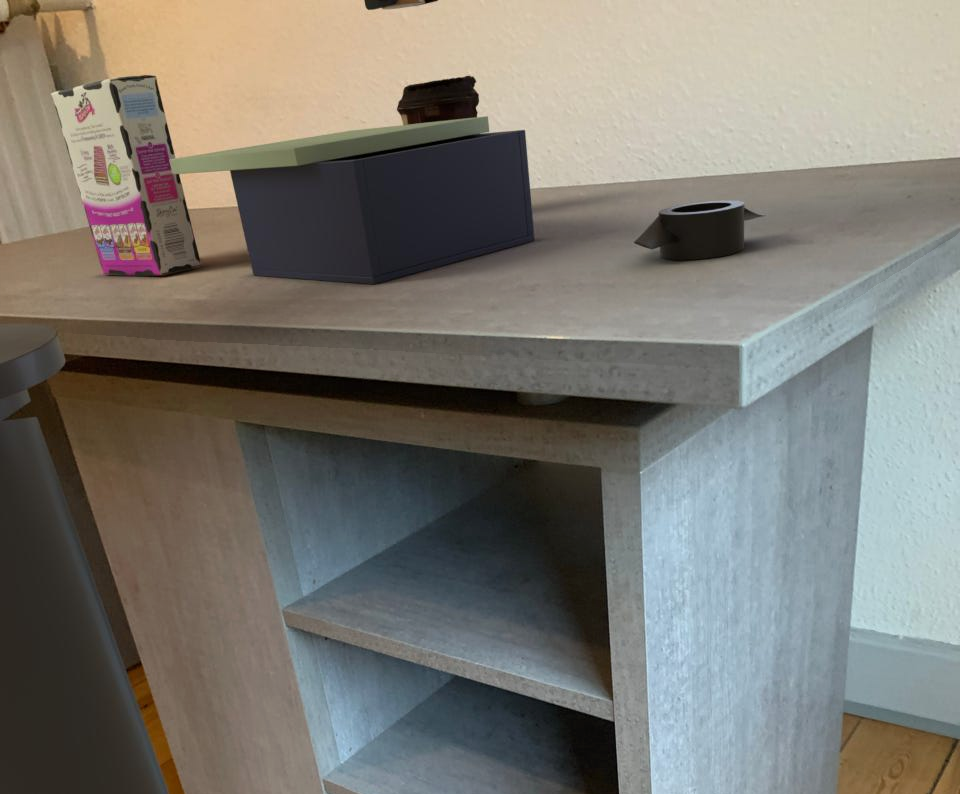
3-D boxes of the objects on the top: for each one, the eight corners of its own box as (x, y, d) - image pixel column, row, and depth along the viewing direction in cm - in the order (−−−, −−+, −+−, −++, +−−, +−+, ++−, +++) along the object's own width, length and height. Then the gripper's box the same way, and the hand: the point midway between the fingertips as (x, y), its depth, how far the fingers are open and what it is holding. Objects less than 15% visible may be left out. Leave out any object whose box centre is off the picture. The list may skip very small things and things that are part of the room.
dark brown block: (511, 213, 103) (497, 71, 96) (458, 227, 98) (439, 79, 91) (451, 215, 108) (434, 80, 102) (397, 228, 103) (376, 88, 97)
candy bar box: (205, 266, 95) (158, 73, 87) (162, 277, 92) (108, 77, 84) (144, 265, 102) (94, 86, 94) (101, 275, 99) (46, 90, 91)
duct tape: (787, 251, 65) (788, 204, 64) (637, 269, 66) (635, 223, 65) (760, 235, 72) (761, 192, 71) (624, 252, 73) (622, 210, 71)
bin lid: (297, 165, 73) (294, 148, 72) (172, 174, 86) (168, 159, 86) (489, 131, 84) (488, 116, 83) (352, 144, 97) (350, 130, 97)
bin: (373, 284, 74) (353, 160, 70) (253, 275, 86) (229, 169, 82) (535, 240, 84) (525, 129, 80) (406, 238, 96) (392, 141, 91)
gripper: (417, -298, 70) (452, 6, 79) (215, -326, 61) (282, 20, 70) (488, -339, 65) (518, -9, 74) (280, -376, 56) (342, 4, 65)
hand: (402, 2), depth 72 cm, fingers closed on cylinder, 3 cm apart
